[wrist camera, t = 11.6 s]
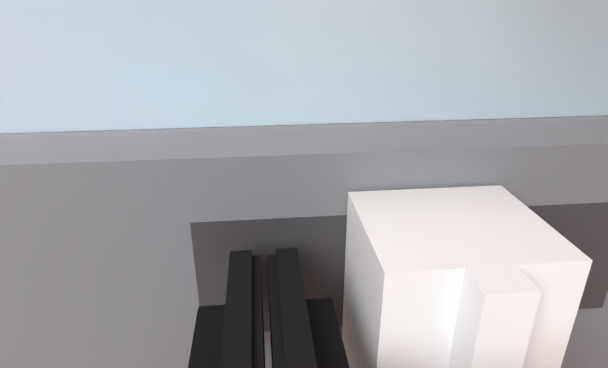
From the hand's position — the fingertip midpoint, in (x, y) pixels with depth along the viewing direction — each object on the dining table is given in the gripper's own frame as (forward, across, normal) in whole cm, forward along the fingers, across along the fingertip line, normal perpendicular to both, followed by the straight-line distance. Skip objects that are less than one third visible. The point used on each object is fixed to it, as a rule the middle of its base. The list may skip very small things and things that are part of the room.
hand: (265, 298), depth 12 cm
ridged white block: (+1, -4, 0) cm, 4 cm away
